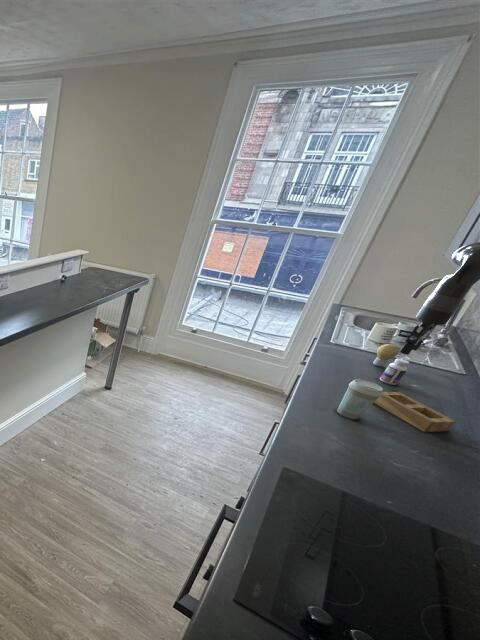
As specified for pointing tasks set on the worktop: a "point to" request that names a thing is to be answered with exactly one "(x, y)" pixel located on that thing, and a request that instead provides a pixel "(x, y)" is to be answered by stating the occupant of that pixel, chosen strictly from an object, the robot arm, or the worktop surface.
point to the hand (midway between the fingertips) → (408, 351)
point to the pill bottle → (394, 372)
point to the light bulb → (385, 354)
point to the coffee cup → (359, 398)
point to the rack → (414, 412)
